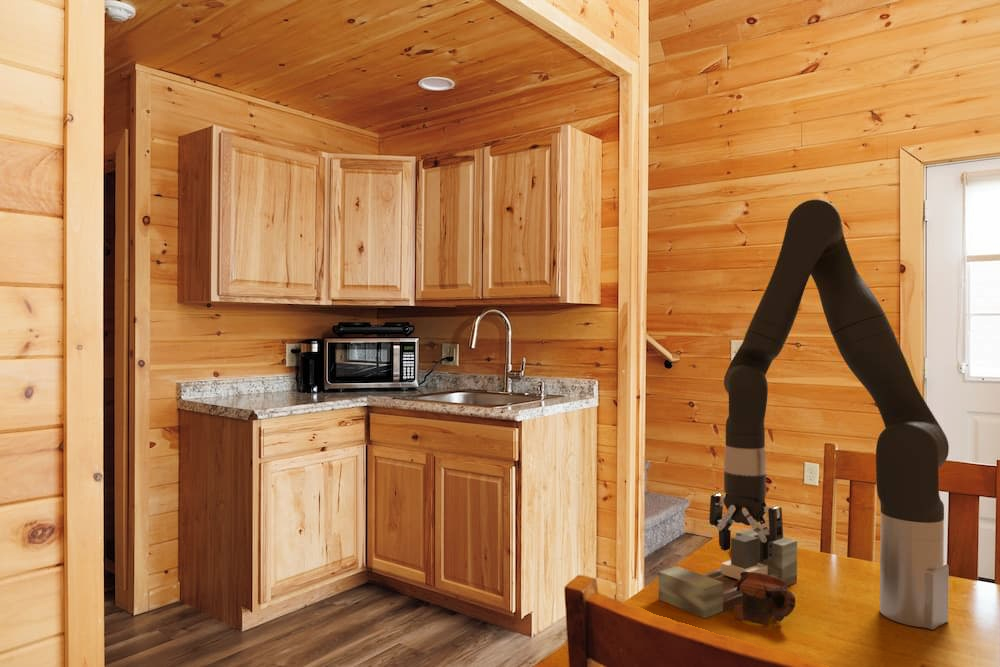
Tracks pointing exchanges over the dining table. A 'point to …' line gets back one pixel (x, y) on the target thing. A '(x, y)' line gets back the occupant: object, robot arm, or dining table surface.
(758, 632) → the dining table surface
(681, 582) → the rail base
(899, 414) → the robot arm
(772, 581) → the pottery mug
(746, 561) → the carriage
